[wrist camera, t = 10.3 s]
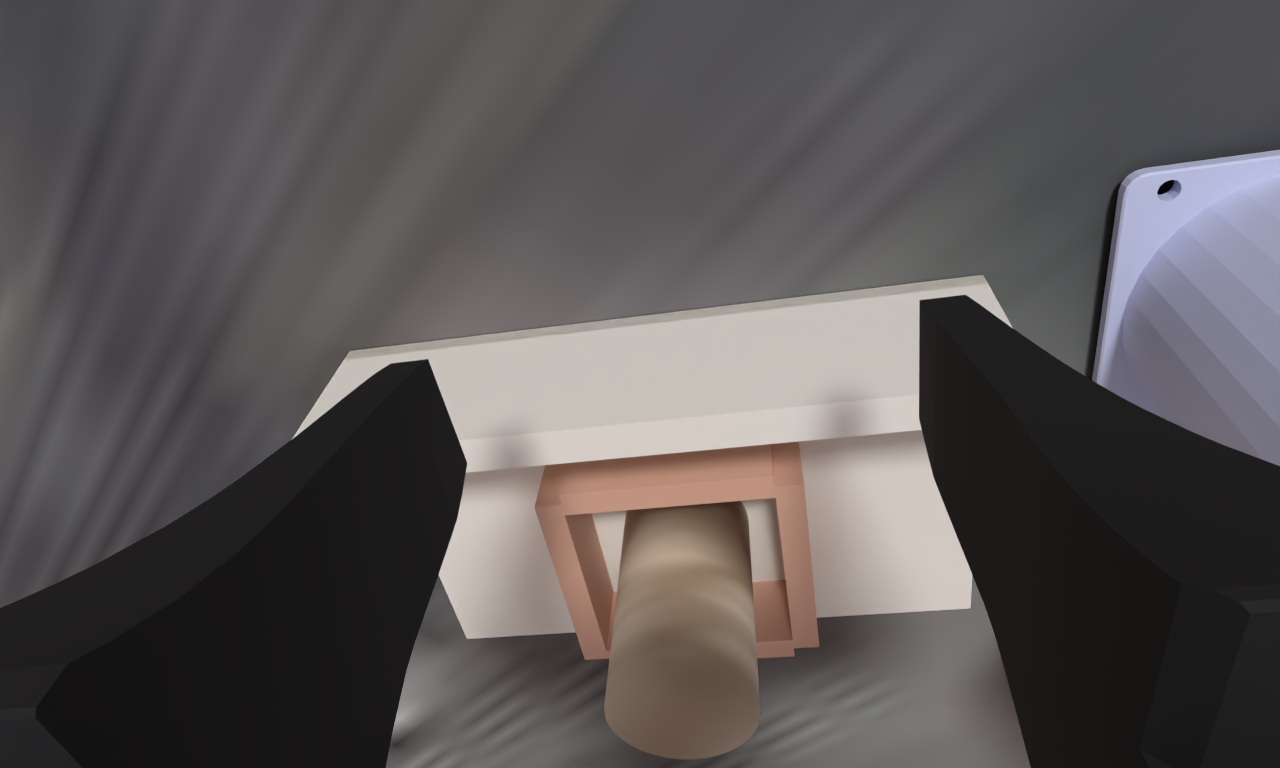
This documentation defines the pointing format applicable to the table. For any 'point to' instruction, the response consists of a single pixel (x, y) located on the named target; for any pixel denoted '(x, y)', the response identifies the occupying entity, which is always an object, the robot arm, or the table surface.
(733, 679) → the beige cylinder
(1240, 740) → the robot arm
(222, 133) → the table surface
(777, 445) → the cup bracket
